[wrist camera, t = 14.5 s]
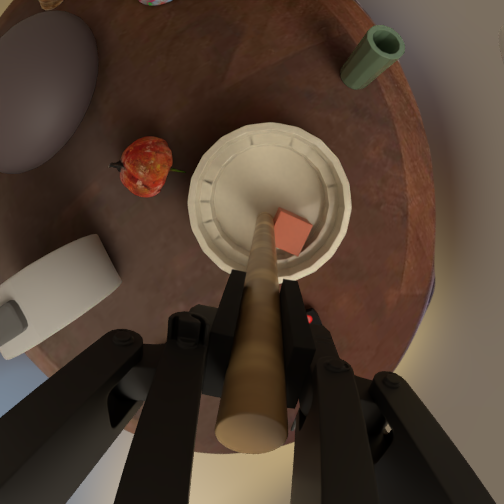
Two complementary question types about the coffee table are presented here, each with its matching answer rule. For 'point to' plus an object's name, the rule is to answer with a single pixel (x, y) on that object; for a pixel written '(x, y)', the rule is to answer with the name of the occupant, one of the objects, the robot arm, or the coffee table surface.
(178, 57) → the coffee table surface
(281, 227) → the block
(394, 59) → the holder
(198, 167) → the bowl
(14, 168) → the flattened ellipsoid
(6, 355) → the alarm clock
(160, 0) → the mug
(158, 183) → the pomegranate
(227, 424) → the stick
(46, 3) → the seashell
